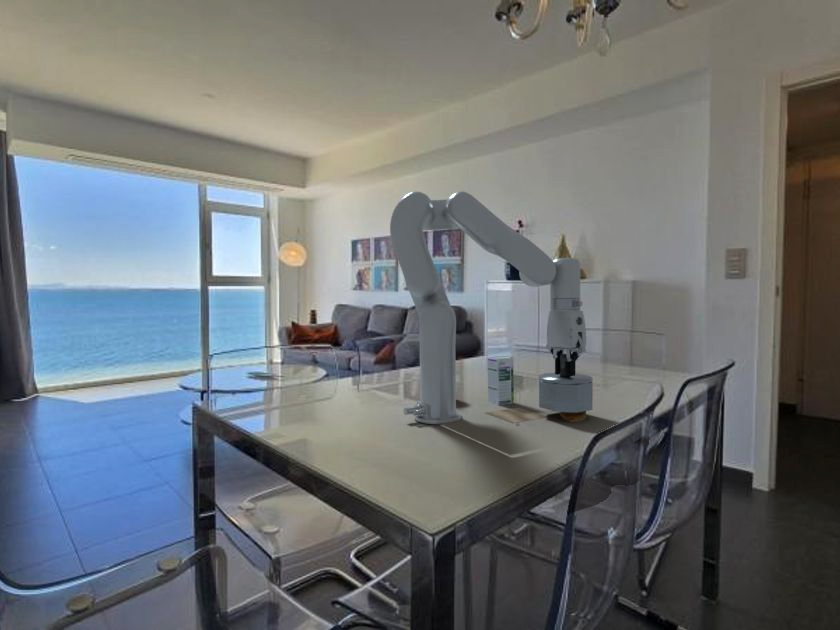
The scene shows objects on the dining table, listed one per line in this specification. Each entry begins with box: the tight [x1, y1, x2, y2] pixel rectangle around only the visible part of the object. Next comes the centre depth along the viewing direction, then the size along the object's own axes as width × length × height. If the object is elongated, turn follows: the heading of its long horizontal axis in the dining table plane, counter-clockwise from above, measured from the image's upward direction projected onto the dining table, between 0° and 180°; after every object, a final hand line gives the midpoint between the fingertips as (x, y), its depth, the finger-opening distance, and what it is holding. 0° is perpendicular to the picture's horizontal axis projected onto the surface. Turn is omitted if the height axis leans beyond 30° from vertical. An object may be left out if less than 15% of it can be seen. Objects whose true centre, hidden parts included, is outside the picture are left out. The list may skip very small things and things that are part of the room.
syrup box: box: [486, 355, 515, 406], centre depth 143 cm, size 6×6×14 cm
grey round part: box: [538, 353, 593, 413], centre depth 125 cm, size 14×14×14 cm
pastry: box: [559, 411, 588, 423], centre depth 125 cm, size 9×7×4 cm
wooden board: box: [485, 407, 548, 424], centre depth 128 cm, size 12×12×1 cm
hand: (565, 374), depth 125 cm, fingers closed on grey round part, 2 cm apart
